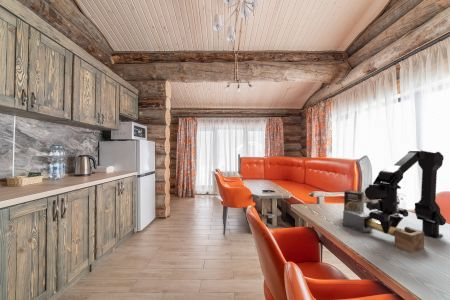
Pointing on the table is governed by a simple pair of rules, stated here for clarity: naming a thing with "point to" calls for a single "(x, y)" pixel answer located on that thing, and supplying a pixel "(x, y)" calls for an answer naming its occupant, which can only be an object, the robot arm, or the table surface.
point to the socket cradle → (409, 239)
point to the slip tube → (380, 227)
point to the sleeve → (356, 220)
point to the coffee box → (354, 200)
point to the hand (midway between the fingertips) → (388, 232)
